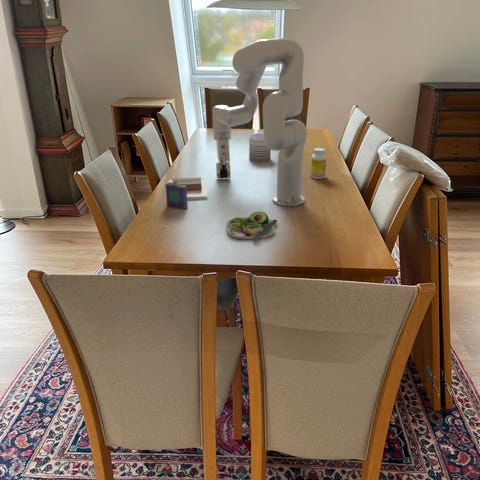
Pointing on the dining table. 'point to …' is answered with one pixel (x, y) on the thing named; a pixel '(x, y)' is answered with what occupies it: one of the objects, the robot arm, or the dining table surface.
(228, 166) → the birch block
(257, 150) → the can
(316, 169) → the supplement bottle
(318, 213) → the dining table surface
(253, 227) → the salad plate
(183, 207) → the flask
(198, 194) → the plate
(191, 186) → the plinth
